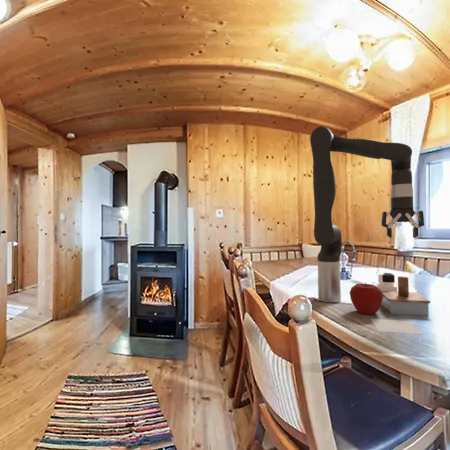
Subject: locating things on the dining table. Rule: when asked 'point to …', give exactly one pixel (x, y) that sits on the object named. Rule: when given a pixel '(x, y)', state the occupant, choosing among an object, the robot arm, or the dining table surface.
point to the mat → (395, 326)
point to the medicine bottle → (386, 282)
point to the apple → (366, 298)
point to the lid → (404, 293)
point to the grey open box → (406, 307)
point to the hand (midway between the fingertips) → (402, 237)
